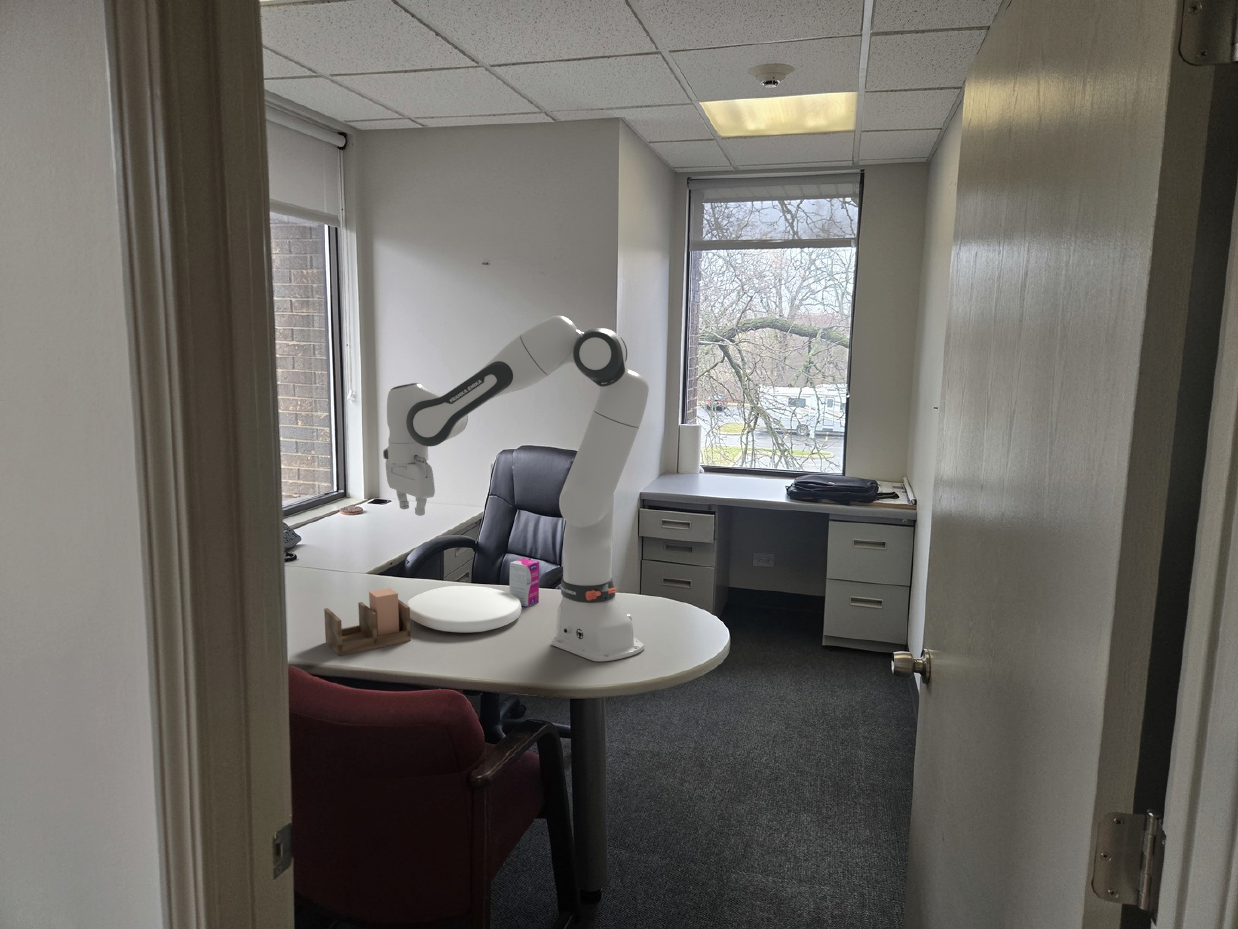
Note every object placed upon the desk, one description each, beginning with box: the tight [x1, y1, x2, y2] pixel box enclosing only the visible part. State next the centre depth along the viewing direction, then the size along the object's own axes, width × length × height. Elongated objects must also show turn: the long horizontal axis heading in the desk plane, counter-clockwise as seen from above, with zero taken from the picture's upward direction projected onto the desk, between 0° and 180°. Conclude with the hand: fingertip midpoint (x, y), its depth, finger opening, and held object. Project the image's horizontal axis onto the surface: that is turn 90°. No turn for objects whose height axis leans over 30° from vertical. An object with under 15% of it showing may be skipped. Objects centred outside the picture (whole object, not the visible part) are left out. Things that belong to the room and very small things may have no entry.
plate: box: [406, 585, 522, 633], centre depth 204 cm, size 28×6×27 cm
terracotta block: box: [368, 587, 399, 636], centre depth 189 cm, size 5×5×10 cm
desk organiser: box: [323, 598, 412, 657], centre depth 187 cm, size 10×16×8 cm, turn 126°
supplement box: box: [508, 557, 540, 609], centre depth 215 cm, size 6×6×12 cm
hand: (412, 511), depth 192 cm, fingers open, 8 cm apart
